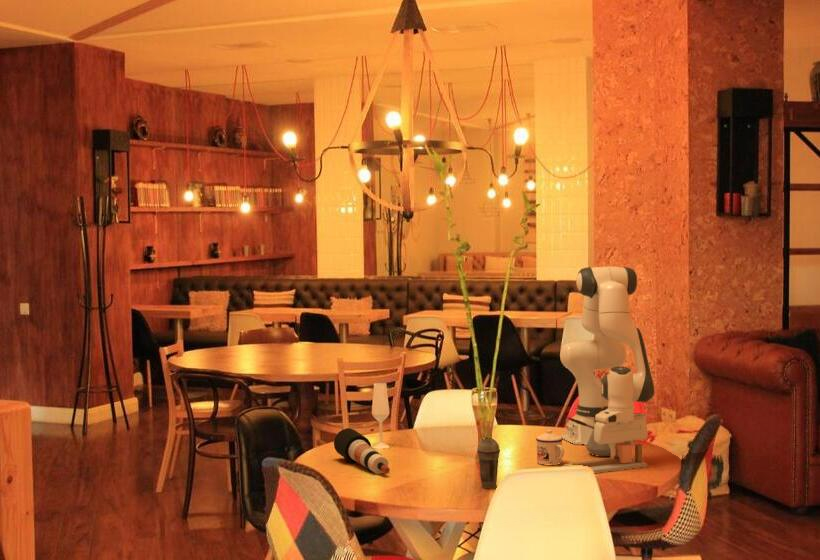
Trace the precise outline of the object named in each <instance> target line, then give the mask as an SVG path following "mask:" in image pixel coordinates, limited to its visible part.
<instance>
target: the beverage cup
mask: <svg viewBox="0 0 820 560" xmlns="http://www.w3.org/2000/svg"><path fill="white" fill-rule="evenodd" d="M490 425H491V424H488V425H487V437H485V438H483V439H482V440H480V442H479V443H478V445H477V450H476V451H477V458H478V462H479V472H480V473H479V474H480V475H479V476H480V482H481V488H483V489H489V490H490V489H495V488H497V483H498V468H499V457H500V452H501V450H500V445H499V443H498V442H497V440H495V439H494V438H491V437H490Z"/></svg>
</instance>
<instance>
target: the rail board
mask: <svg viewBox="0 0 820 560" xmlns="http://www.w3.org/2000/svg"><path fill="white" fill-rule="evenodd" d="M623 443H627V442H623ZM627 444H628V443H627ZM568 465H583V466H588V467H591V468H592V469H593V471H594V472H595V473H597V474H601V473H600V472H604V473H609V472H608V471H612V472H617V471H616V470H619V471H625V470H624V469H627V470H633V469H632V468H634V469H641V468H640V467H642V468H647V467H648V463H647V462H644V461H643V445H642V444H640V443H637V444H635V443H634V458H633V456H632V462H631V463H619V457H616V458H611V457H609V458H601V459H594V460H587V461H586V460H585V461H578V462H572V463H564V464H563V465H562V467H563V466H568Z"/></svg>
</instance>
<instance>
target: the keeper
mask: <svg viewBox="0 0 820 560" xmlns="http://www.w3.org/2000/svg"><path fill="white" fill-rule="evenodd" d="M614 447H615V450H618V455H617V456H613V455H612V454H611V456H610V458H616V457H619V463H631V462H632V457H633V447H632V445H630V444H627V443H624V442H619V443H615V446H614Z"/></svg>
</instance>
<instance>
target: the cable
mask: <svg viewBox="0 0 820 560" xmlns="http://www.w3.org/2000/svg"><path fill="white" fill-rule="evenodd" d="M333 447H334V450H335V451H336V453H337V454H339V456H341V457H343V458H344V459H345V460H347V461H348V462H349V463H352V464H355V465H356V464H358V465H360V466H362V467H364V468H366V469H368V470H369V471H371V472H373V473H374V474H375V475H381V474H380V473H383V474H388V473H390V470H391V468H389V461H388V459H387V458H386V457H384V456H383V454H381V453H379V451H377V449H376V448H373V446H372V444H371V442H370V440H369V439H368V438H367V437H365V436H364V435H362V434H361V433H360V432H359V431H357V430H356V429H353V428H350V427H349V428H348V427H347V428H343V429H341V430H340V431H339V432H338V433H336V435H335V437H334V440H333Z"/></svg>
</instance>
